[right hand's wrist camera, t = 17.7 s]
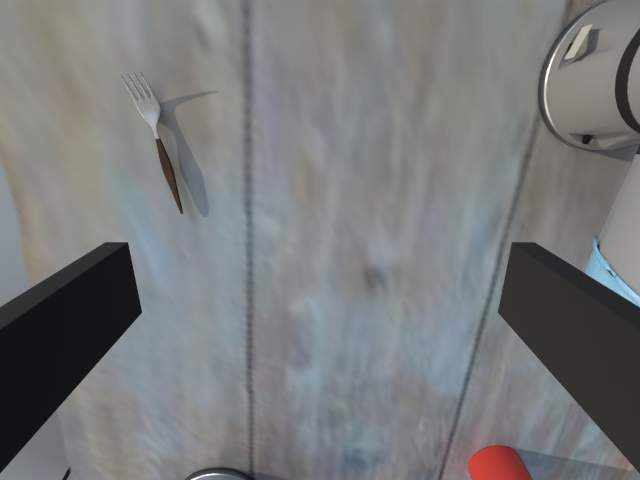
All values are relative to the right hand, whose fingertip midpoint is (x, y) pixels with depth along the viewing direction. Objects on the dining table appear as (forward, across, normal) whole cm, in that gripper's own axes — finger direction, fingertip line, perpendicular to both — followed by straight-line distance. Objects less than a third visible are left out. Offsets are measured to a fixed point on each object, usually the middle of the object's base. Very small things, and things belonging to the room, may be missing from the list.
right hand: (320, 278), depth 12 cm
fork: (+32, -18, +1) cm, 37 cm away
